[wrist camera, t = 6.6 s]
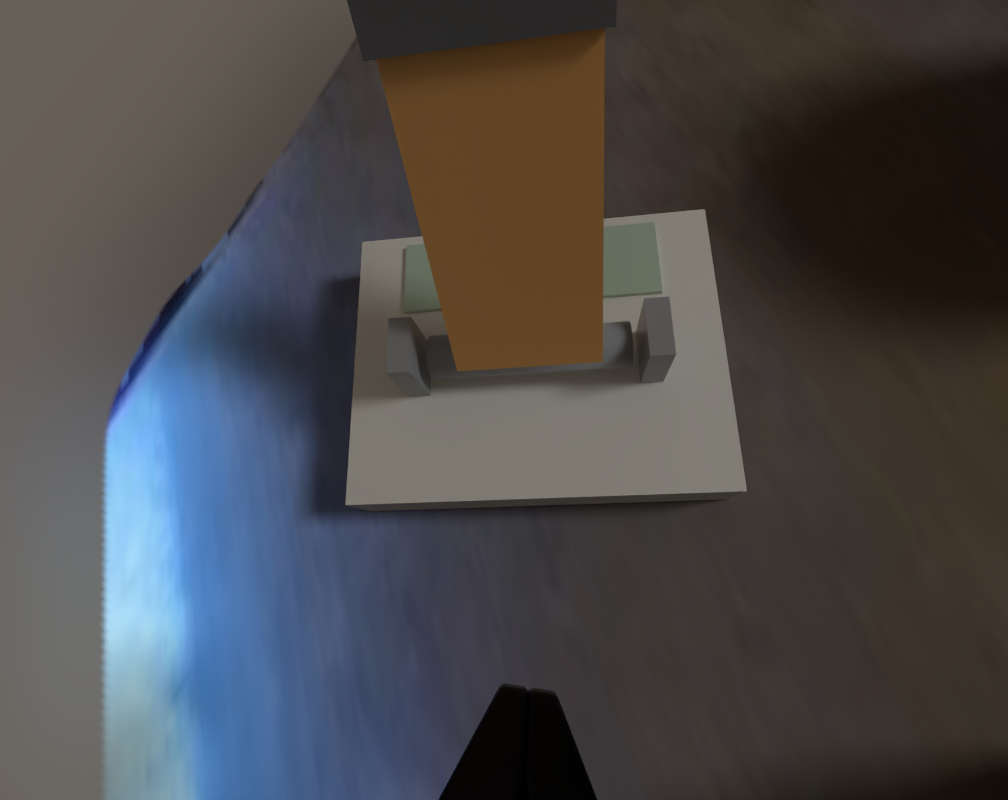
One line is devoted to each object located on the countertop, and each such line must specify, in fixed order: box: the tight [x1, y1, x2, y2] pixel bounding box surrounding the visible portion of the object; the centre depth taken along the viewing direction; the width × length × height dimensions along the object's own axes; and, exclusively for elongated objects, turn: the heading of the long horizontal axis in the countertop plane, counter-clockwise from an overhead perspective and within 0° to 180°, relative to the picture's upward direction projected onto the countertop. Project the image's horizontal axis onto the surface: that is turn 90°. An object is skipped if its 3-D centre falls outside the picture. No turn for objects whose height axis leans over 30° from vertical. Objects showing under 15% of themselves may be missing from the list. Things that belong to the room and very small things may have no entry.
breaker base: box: [345, 209, 747, 511], centre depth 20 cm, size 11×14×5 cm
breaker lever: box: [347, 0, 633, 380], centre depth 15 cm, size 2×7×12 cm, turn 91°
